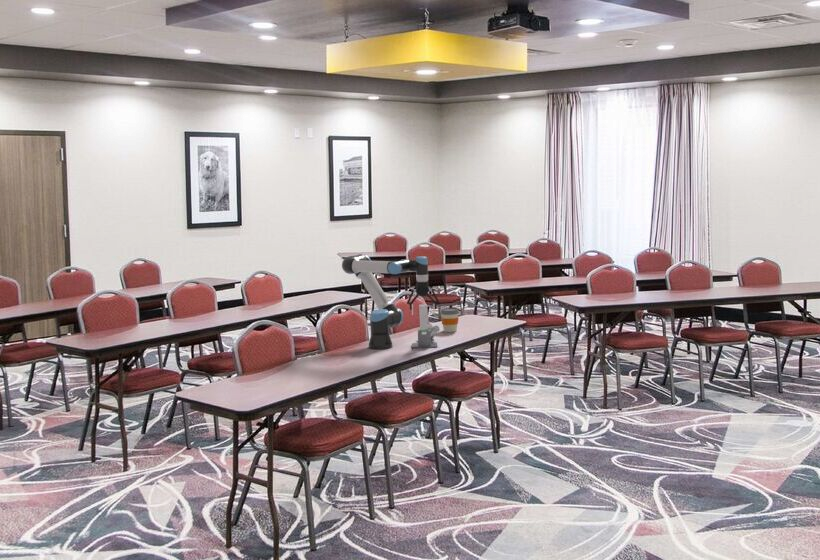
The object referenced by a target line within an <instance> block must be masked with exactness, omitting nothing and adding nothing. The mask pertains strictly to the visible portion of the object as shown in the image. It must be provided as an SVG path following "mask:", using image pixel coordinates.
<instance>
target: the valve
mask: <svg viewBox="0 0 820 560" xmlns="http://www.w3.org/2000/svg"><path fill="white" fill-rule="evenodd" d="M428 329H430V332H431V340H433V339H434V338H435V337H436V336H437V333H438V332H440V327H439V325H434V326H433V325H432V323H428Z"/></svg>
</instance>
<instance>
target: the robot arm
mask: <svg viewBox="0 0 820 560" xmlns="http://www.w3.org/2000/svg"><path fill="white" fill-rule="evenodd" d="M428 262H429V261H428V257H427V256H420V255H419V256H415V259H410V258H409V259H408V258H404V259H400V260H398V261H397V260H396V261H393V260H392V261H391V260H388V261H387V260H371V257H369V256H368V255H367V254H356V255H349V256H346V257H345V258H344V259H343V261H342V263H341V268H342V270H343V272H344V273H347V274H349V275H355V276H356V279H359V280H361V283H363V285H364V287H365V289H366V290H367V292H368V294H369V296H370V297H371V299H372V300H373V303H374V304H375V305H376V307H377V309H375V310H374V309H373V310H372V311H371V312H370V313H369V321H370V324H369V325H370V337H369V342H368V348H369V349H372V350H385V349H390V348H392V347H393V341H392V338H391V336H390V329H391V328H396V327H398V326H400V325H401V324H402V323H403V321H404V312H403V310H402V309H400V308H399V307H396V305H395V304H394V303H393V302H390V300H389V298H388V296H387V295H386V293H385V291H384V290H383V289H382V287H381V285H380V283H379V282H378V280H377V279H376V277H375V275H374V274H376V273H377V274H379V273H380V274H391V275H398V274H402V273H407V272H415V273H416V274H415V276H416V289H414V288H412V289H411V293H410V295H409V297H408V299H407V302H406V304H407V305H409V310H410V311H411V316H414V302H415V301H416V299H418V297H426V296H427V297H428V298H429V299H430V301H432V302H433V304H432V306H433V308H432V309H433V315H436V313H435V312H436V311H435V310H437V304H439V303H440V300H439V298H438V297H437V295H436V293H435V291H434V290H435V289H434V288H433V287H431V288H430V286H429V267H428V266H429V263H428ZM373 273H374V274H373ZM415 292H416V293H417V294H416V295H414V293H415ZM430 292H431V293H432V295H433V297H432V296H431V295H430V294H429V293H430ZM413 295H414V297H413ZM412 297H413V298H412ZM411 299H412V300H411Z"/></svg>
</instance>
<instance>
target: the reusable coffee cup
mask: <svg viewBox="0 0 820 560" xmlns="http://www.w3.org/2000/svg"><path fill="white" fill-rule="evenodd" d="M459 313H460V311H459V308H455V307H446V308H445V307H444V308H441V309H440V315H441V316H440V317H441V318H440V320H441V324H442V328H443V332H444V333H455V332H457V330H458V329H457V328H458V324H459Z"/></svg>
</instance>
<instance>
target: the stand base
mask: <svg viewBox="0 0 820 560" xmlns="http://www.w3.org/2000/svg"><path fill="white" fill-rule="evenodd" d="M431 340H432V339H431V332H430V329H428V331H423V332H420V329H417V342H412V343H411V349H431V348H432V349H435V348H438V342H437V341H434V342H432V341H431Z"/></svg>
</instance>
